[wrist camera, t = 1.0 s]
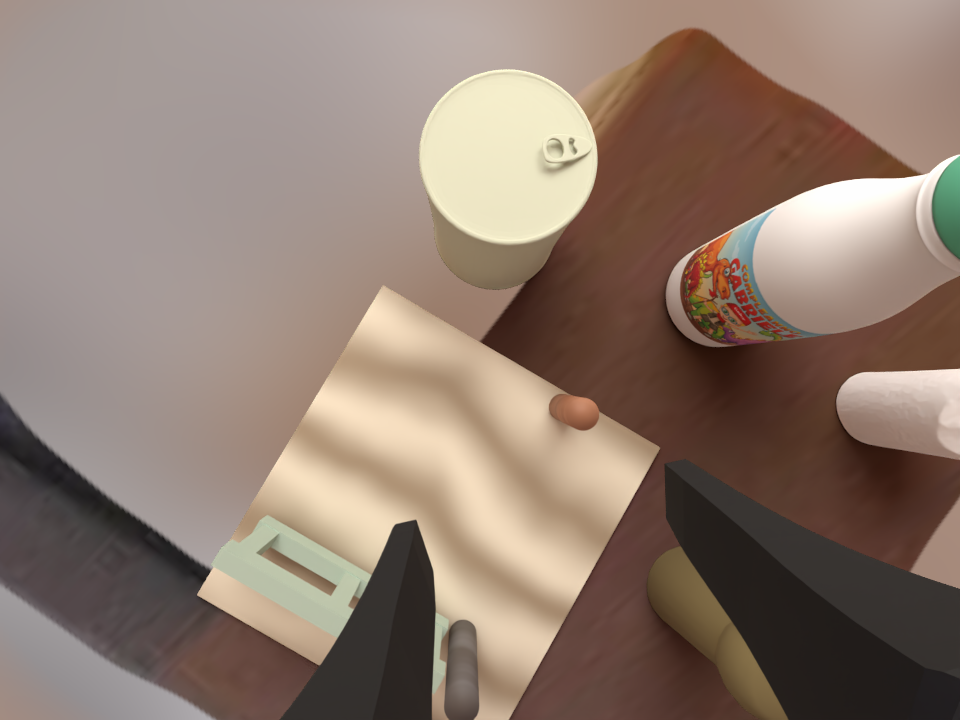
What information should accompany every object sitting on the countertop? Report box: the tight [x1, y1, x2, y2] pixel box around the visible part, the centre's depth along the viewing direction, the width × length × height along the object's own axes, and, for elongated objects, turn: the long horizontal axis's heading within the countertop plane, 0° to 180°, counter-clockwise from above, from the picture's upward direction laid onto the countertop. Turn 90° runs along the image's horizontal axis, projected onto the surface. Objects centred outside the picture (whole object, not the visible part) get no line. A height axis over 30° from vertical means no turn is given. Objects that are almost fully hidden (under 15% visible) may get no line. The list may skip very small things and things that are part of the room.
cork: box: [647, 547, 788, 720], centre depth 28 cm, size 6×6×11 cm
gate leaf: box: [211, 515, 449, 694], centre depth 29 cm, size 15×1×6 cm, turn 60°
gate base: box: [197, 286, 660, 720], centre depth 29 cm, size 26×24×8 cm
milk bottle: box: [666, 155, 960, 347], centre depth 24 cm, size 8×8×20 cm
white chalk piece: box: [836, 369, 960, 460], centre depth 29 cm, size 6×12×6 cm
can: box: [419, 70, 597, 290], centre depth 28 cm, size 9×9×12 cm
